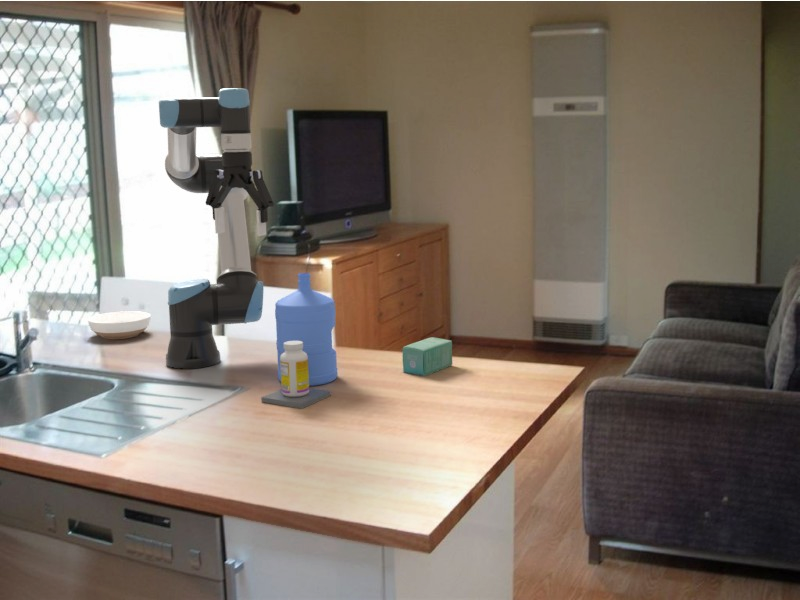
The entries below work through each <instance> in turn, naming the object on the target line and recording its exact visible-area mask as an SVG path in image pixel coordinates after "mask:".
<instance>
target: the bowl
mask: <svg viewBox="0 0 800 600" xmlns="http://www.w3.org/2000/svg"><path fill="white" fill-rule="evenodd" d="M150 322H151V313H148V312H145V311H138V310H137V311H136V310H133V311H132V310H131V311H130V310H129V311H128V310H127V311H126V310H124V311H114V312H112V311H111V312H105V313H100V314H95V315H93V316H90V317H88V326H89V328H90V330H91V332H94V333H95V334H96V335H98V336H100V337H102V338H103V339H107V340H124V339H129V338H133V337H137V336H138V335H140V334H141V333H142V332H144V331H145V330H146V329H147V328H148V327H149V326H150Z"/></svg>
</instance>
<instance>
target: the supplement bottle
mask: <svg viewBox="0 0 800 600" xmlns="http://www.w3.org/2000/svg"><path fill="white" fill-rule="evenodd" d="M302 348H303V342H302V341H287V342H284V349H285V352H284V353H282V354H281V356H280V365H281V381H280V384H281V389H282V393H283V395H285V396H288V397H300V396H304V395H306V394H308V393H309V388H310V386H309V374H308V356H307V354H306V353H305V352H304V351H302Z"/></svg>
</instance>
